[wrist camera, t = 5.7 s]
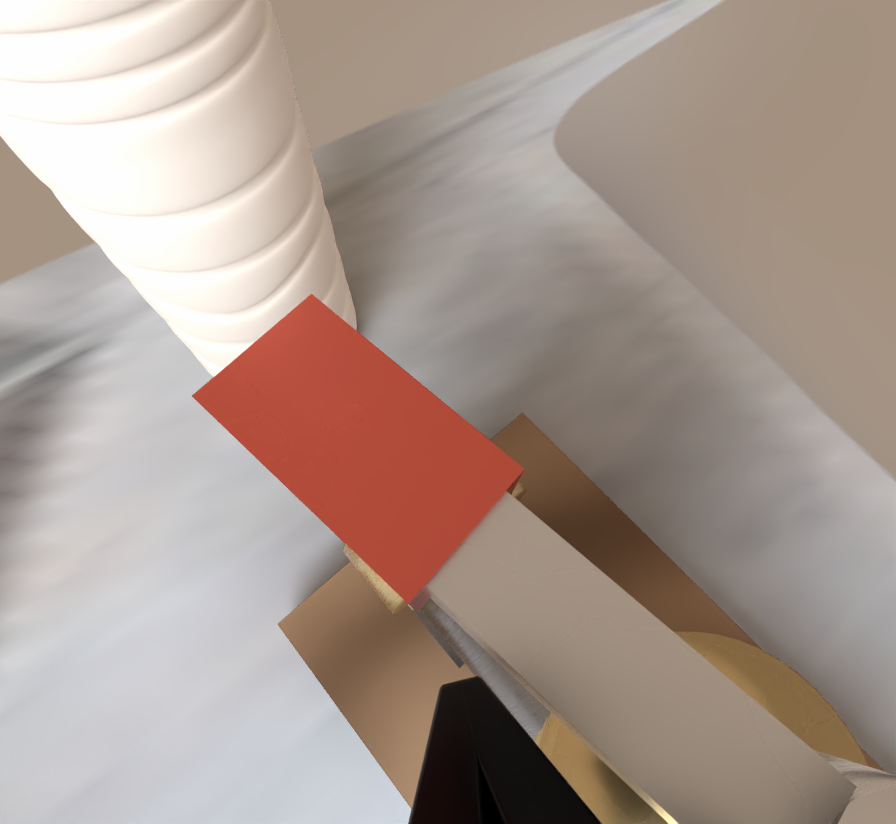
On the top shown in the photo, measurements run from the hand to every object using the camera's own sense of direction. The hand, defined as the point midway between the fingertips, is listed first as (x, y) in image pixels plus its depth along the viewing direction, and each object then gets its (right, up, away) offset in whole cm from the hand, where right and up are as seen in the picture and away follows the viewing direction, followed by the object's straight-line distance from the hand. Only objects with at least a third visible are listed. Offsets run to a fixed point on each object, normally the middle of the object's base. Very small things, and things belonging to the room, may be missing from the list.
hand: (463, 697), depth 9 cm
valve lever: (+2, +1, 0) cm, 2 cm away
